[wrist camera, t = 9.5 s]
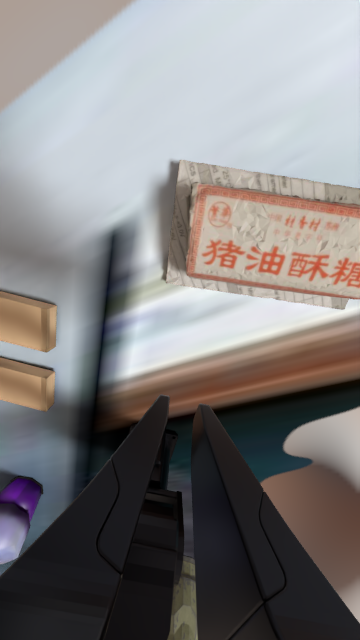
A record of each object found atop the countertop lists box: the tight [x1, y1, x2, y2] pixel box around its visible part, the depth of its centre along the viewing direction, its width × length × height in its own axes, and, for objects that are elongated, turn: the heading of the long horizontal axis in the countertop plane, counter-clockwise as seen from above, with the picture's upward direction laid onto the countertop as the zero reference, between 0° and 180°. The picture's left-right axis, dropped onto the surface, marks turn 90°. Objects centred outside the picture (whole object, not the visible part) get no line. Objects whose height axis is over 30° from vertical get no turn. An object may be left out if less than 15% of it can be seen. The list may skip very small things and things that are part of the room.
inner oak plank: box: [0, 357, 55, 412], centre depth 23 cm, size 5×9×1 cm, turn 76°
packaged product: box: [166, 160, 360, 309], centre depth 16 cm, size 18×5×10 cm
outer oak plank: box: [0, 291, 57, 352], centre depth 20 cm, size 5×9×1 cm, turn 76°
